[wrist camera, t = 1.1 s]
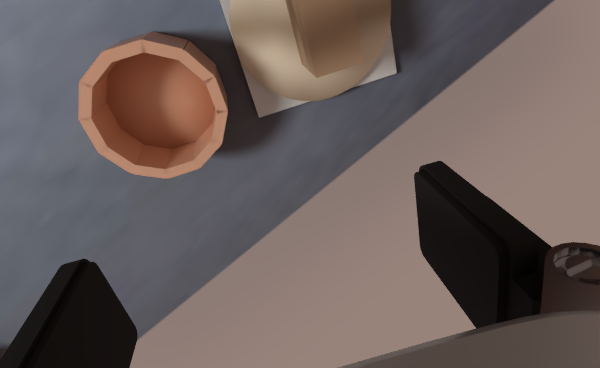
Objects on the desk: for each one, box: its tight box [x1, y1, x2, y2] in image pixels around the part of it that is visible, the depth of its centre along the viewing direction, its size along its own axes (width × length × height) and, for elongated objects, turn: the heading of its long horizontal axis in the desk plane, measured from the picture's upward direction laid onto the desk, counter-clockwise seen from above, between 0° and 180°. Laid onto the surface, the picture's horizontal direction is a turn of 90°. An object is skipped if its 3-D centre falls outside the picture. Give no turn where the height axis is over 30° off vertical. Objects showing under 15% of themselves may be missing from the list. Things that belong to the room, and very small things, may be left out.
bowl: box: [79, 32, 228, 179], centre depth 29 cm, size 10×10×5 cm
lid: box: [229, 0, 391, 101], centre depth 28 cm, size 13×13×6 cm
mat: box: [220, 0, 397, 118], centre depth 31 cm, size 13×13×1 cm
